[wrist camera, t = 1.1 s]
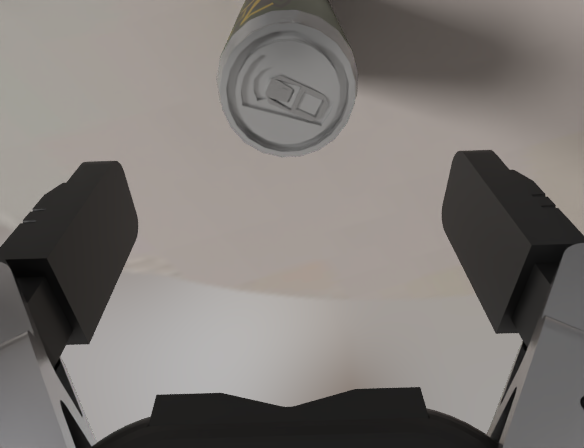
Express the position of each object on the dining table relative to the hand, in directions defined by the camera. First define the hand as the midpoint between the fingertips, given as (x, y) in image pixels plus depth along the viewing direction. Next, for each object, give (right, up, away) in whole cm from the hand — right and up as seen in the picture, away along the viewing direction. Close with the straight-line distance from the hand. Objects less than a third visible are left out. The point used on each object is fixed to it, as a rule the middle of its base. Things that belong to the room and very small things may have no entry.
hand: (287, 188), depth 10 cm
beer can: (0, +11, +15) cm, 18 cm away
